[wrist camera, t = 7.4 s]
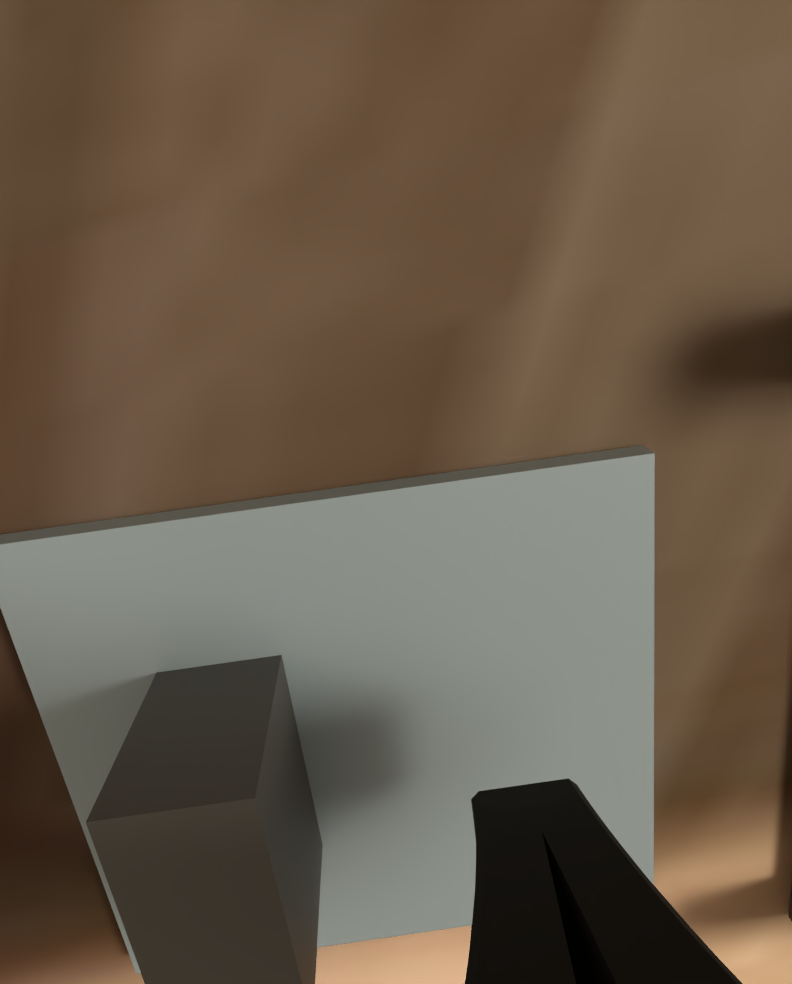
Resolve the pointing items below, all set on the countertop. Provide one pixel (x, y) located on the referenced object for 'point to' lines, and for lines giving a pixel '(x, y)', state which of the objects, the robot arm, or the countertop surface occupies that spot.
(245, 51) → the countertop surface
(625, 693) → the cover plate
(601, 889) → the robot arm
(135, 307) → the countertop surface
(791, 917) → the box
